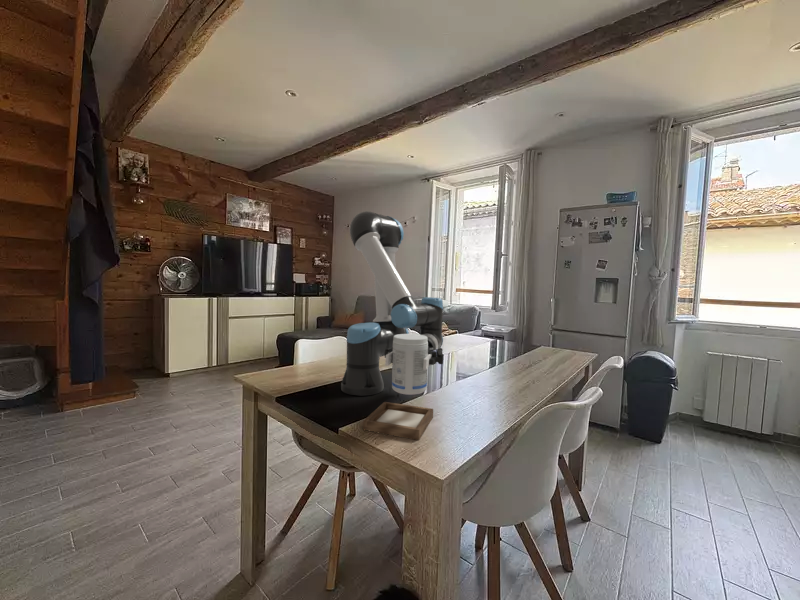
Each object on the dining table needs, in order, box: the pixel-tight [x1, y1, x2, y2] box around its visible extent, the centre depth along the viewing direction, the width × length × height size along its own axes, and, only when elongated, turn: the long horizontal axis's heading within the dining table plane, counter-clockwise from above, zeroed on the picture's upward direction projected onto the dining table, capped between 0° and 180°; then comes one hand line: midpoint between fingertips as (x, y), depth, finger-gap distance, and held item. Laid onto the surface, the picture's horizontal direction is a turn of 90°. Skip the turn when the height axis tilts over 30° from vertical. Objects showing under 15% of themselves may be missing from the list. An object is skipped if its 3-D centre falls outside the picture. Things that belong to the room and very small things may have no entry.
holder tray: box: [362, 401, 434, 441], centre depth 90 cm, size 15×15×2 cm
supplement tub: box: [391, 333, 428, 396], centre depth 90 cm, size 10×10×15 cm
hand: (405, 362), depth 85 cm, fingers closed on supplement tub, 9 cm apart
